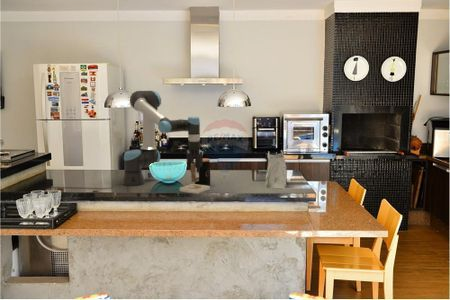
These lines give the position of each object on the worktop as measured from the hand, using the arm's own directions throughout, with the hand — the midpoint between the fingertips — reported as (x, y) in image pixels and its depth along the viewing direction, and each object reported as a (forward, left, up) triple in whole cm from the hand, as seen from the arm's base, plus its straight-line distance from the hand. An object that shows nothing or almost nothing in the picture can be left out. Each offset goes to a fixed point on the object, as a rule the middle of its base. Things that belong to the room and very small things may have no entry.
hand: (195, 177), depth 285 cm
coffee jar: (-5, +16, -9) cm, 19 cm away
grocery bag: (+34, +48, -9) cm, 60 cm away
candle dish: (0, 0, -9) cm, 9 cm away
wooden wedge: (0, 0, -3) cm, 3 cm away
